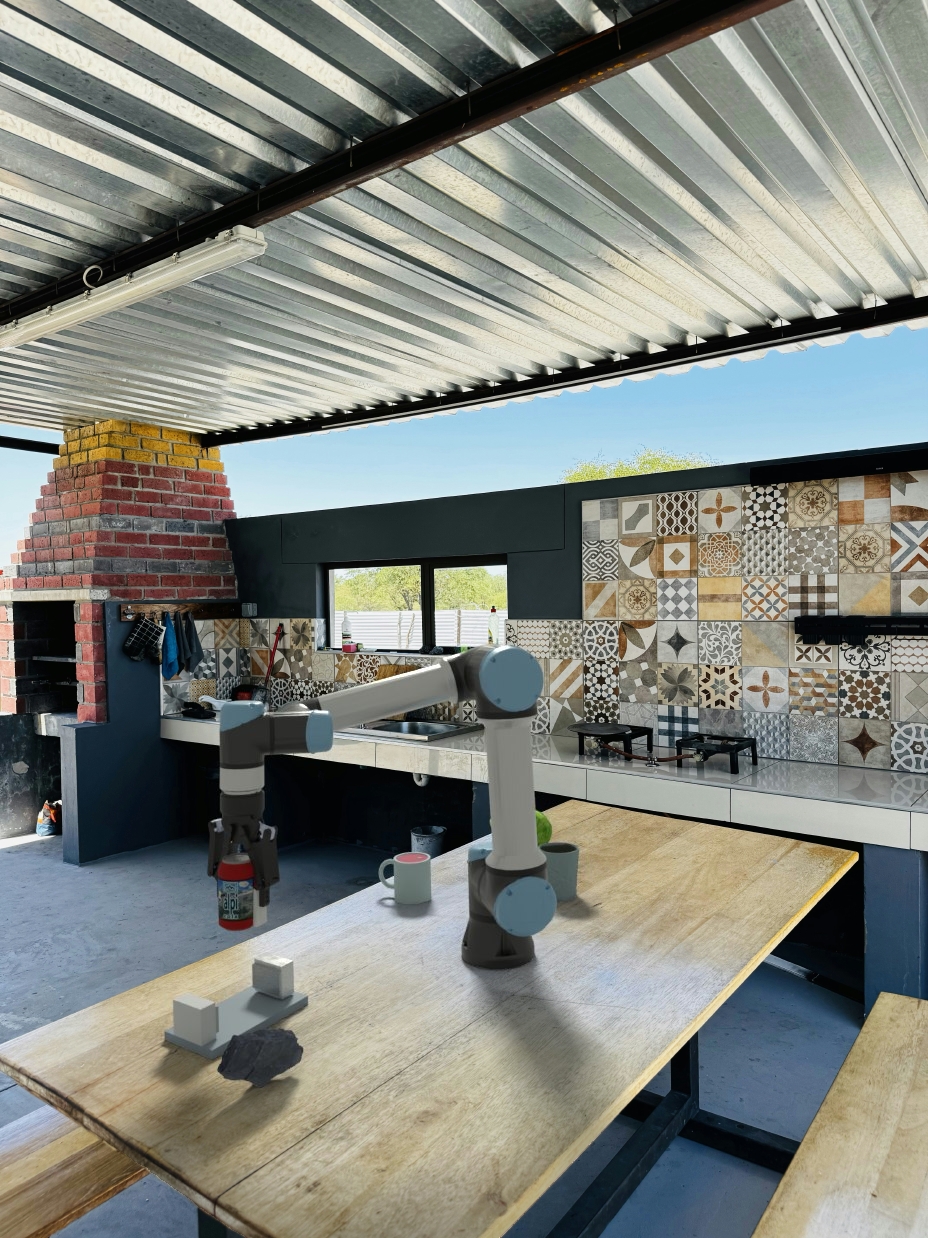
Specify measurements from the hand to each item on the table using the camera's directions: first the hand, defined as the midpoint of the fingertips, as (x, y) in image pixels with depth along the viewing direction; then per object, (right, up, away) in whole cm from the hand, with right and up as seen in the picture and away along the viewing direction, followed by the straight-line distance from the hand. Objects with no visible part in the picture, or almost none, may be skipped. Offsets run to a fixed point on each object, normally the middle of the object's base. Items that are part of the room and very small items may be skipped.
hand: (243, 920), depth 147 cm
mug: (+24, -17, +62) cm, 69 cm away
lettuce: (+55, -15, +98) cm, 113 cm away
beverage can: (-1, -1, -1) cm, 1 cm away
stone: (+8, -18, -20) cm, 28 cm away
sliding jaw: (+3, -16, +8) cm, 18 cm away
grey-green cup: (+62, -16, +61) cm, 89 cm away
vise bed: (-1, -18, +1) cm, 18 cm away
